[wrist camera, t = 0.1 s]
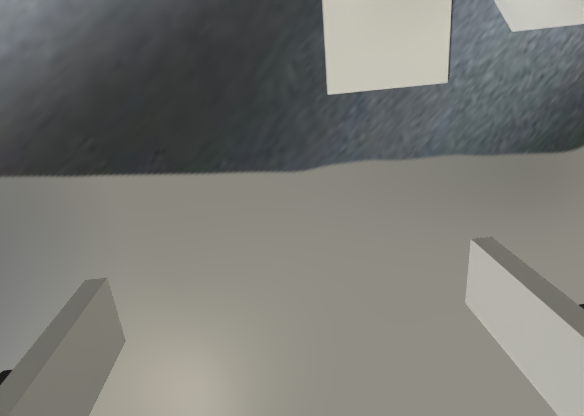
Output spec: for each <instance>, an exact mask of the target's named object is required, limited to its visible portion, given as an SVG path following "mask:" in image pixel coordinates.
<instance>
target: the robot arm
mask: <svg viewBox="0 0 584 416" xmlns="http://www.w3.org/2000/svg"><path fill="white" fill-rule="evenodd" d="M465 303H466V304H467V305H468V307H469V308H470V309H471V310H472V311H473V313H474V314H475V315H476V316H477V318H478V319H479V320H480V321H481V323H482V324H483V325H484V326H485V327H486V329H487V330H488V331H489V332H490V333H491V335H492V336H493V337H494V338H495V340H496V341H497V342H498V343H499V344H500V346H501V347H502V348H503V349H504V351H505V352H506V353H507V354H508V355H509V357H510V358H511V359H512V360H513V361H514V363H515V364H516V365H517V366H518V368H519V369H520V370H521V371H522V372H523V374H524V375H525V376H526V377H527V378H528V380H529V381H530V382H531V383H532V385H533V386H534V387H535V388H536V389H537V391H538V392H539V393H540V394H541V395H542V397H543V398H544V399H545V400H546V401H547V403H548V404H549V405H550V406H551V408H553V410H554V411H555V413H556V414H557V415H558V416H584V304H580V305H578V304H576V303H575V302H574V301H573V300H571V299H570V298H569V297H567V296H566V295H565V294H564V293H562V292H561V291H560V290H559V289H557V288H556V287H554V286H553V285H552V284H551V283H550V282H548V281H547V280H546V279H545V278H543V277H542V276H541V275H539V274H538V273H537V272H536V271H534V270H533V269H532V268H530V267H529V266H528V265H527V264H525V263H524V262H523V261H522V260H520V259H519V258H517V256H515V255H514V254H512V253H511V252H510V251H509V250H507V249H506V248H505V247H504V246H503V245H501V244H500V243H499V242H497V241H496V240H495V239H494V238H492V237H486V238H476V239H471V245H470V255H469V267H468V278H467V289H466V301H465ZM124 343H125V337H124V334H123V330H122V327H121V323H120V320H119V317H118V313H117V310H116V306H115V303H114V300H113V296H112V293H111V289H110V286H109V282H108V279H107V278H101V279H91V280H85V281H84V282H83V284H82V285H81V286H80V287H79V289H78V290H77V291H76V292H75V294H74V295H73V296H72V297H71V298H70V300H69V301H68V302H67V304H66V305H65V306H64V307H63V308H62V310H61V311H60V312H59V313H58V315H57V316H56V317H55V318H54V320H53V321H52V322H51V323H50V325H49V326H48V327H47V328H46V329H45V331H44V332H43V333H42V334H41V336H40V337H39V338H38V339H37V341H36V342H35V343H34V344H33V346H32V347H31V348H30V349H29V350H28V352H27V353H26V354H25V356H24V357H23V358H22V359H21V361H20V362H19V363H18V364H17V365H16V367H15V368H14V369H13V370H6V371H3V372H1V373H0V416H89V414H90V412H91V410H92V408H93V406H94V404H95V402H96V400H97V398H98V396H99V394H100V392H101V390H102V388H103V386H104V383H105V382H106V380H107V378H108V376H109V373H110V371H111V369H112V367H113V365H114V363H115V361H116V359H117V357H118V355H119V353H120V351H121V349H122V347H123V345H124Z"/></svg>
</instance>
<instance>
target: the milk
mask: <svg viewBox="0 0 584 416" xmlns="http://www.w3.org/2000/svg"><path fill="white" fill-rule="evenodd" d="M494 2H495V3H496V5H497V7H498V9H499V10H500V12H501V14H502V15H503V17H504V19H505V21H506V22H507V24H508V26H509V27H510V29H511V31H512V32H514V31H523V30H532V29H541V28H550V27H560V26H569V25H578V24H584V0H494Z"/></svg>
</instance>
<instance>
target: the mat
mask: <svg viewBox="0 0 584 416" xmlns="http://www.w3.org/2000/svg"><path fill="white" fill-rule="evenodd" d="M451 4H452V0H322V8H323V26H324V44H325V61H326V79H327V94H328V95H329V94H339V93H349V92H359V91H369V90H379V89H389V88H399V87H409V86H419V85H429V84H439V83H448V65H449V45H450V25H451Z"/></svg>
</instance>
